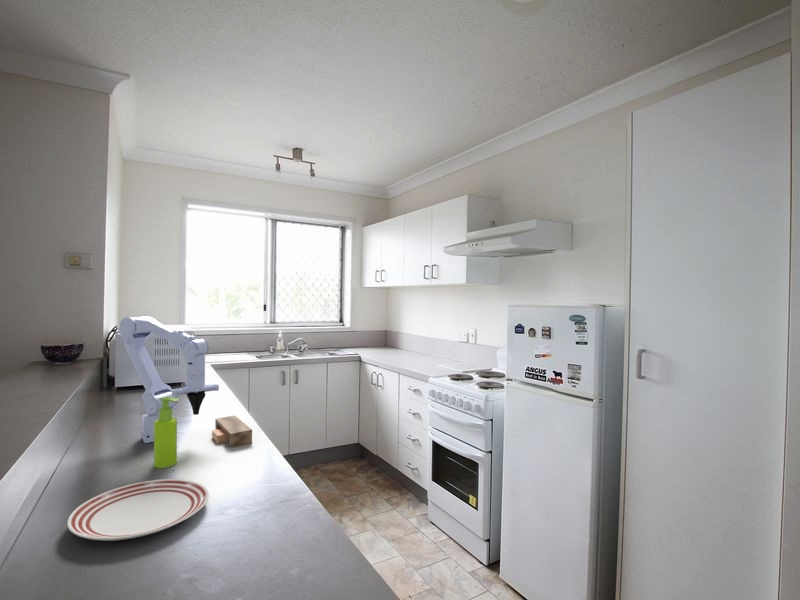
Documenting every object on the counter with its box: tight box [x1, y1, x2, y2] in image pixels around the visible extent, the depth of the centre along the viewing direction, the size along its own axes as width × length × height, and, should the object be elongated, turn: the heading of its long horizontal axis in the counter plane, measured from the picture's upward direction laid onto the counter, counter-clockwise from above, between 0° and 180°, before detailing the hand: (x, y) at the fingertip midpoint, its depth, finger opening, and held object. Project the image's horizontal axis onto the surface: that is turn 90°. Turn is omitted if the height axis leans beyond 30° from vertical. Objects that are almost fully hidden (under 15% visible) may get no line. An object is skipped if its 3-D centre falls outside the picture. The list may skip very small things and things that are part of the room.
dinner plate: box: [66, 478, 210, 542], centre depth 97 cm, size 27×27×3 cm
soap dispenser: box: [153, 397, 180, 469], centre depth 125 cm, size 6×7×20 cm
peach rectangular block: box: [211, 429, 229, 444], centre depth 148 cm, size 8×7×3 cm
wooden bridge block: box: [214, 415, 253, 448], centre depth 149 cm, size 7×20×5 cm, turn 37°
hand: (195, 413), depth 145 cm, fingers closed
